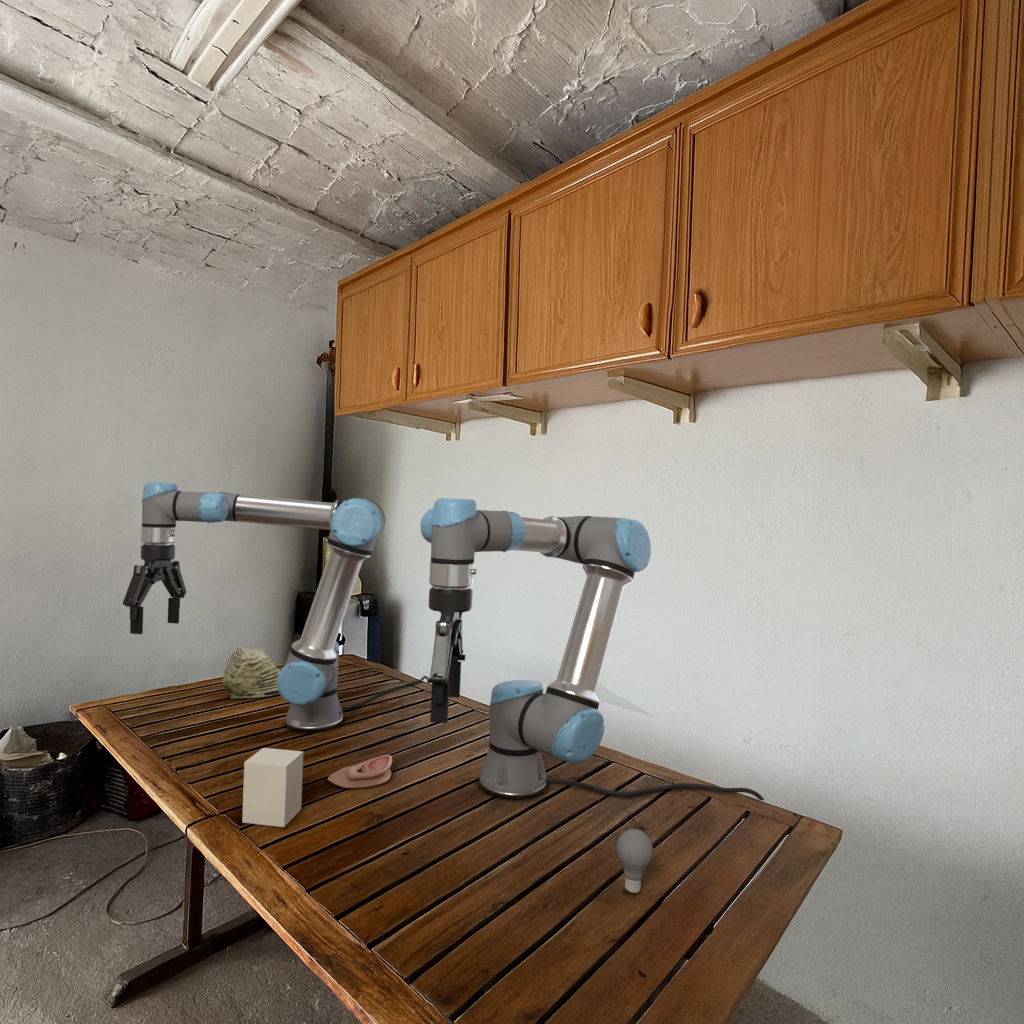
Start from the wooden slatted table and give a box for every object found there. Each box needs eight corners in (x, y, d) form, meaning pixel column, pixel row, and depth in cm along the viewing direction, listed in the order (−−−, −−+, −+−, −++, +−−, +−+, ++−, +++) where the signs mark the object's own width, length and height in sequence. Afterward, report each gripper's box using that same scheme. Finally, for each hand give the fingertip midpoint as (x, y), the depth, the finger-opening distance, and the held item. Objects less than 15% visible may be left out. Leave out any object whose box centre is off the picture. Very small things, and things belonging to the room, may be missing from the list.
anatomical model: (321, 766, 139) (345, 747, 150) (320, 784, 139) (344, 763, 150) (378, 774, 136) (398, 753, 147) (377, 792, 136) (397, 770, 148)
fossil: (218, 695, 195) (220, 647, 195) (278, 685, 208) (279, 640, 207) (228, 703, 189) (230, 653, 188) (289, 692, 201) (290, 645, 201)
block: (242, 822, 122) (244, 761, 122) (261, 805, 129) (263, 747, 129) (284, 827, 121) (286, 766, 121) (301, 809, 128) (303, 751, 128)
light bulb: (610, 879, 108) (613, 822, 108) (644, 879, 109) (647, 822, 109) (619, 902, 102) (622, 840, 102) (655, 901, 103) (658, 840, 103)
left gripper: (136, 548, 146) (133, 639, 146) (202, 541, 171) (199, 620, 171) (107, 546, 147) (104, 637, 147) (176, 540, 172) (174, 618, 172)
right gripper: (462, 599, 97) (456, 736, 98) (480, 579, 122) (476, 688, 123) (414, 596, 98) (408, 733, 98) (442, 577, 123) (437, 686, 123)
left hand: (155, 628), depth 159 cm, fingers open, 13 cm apart
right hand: (445, 708), depth 110 cm, fingers open, 13 cm apart
